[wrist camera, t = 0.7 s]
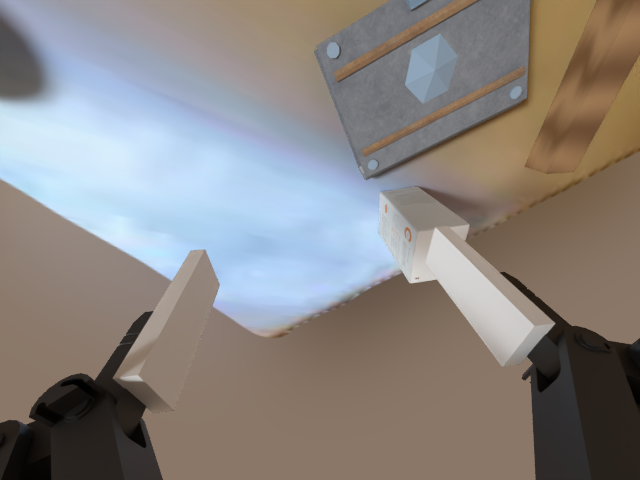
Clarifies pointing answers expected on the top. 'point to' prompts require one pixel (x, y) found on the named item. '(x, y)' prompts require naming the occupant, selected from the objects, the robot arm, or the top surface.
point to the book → (424, 74)
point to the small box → (414, 228)
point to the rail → (588, 86)
